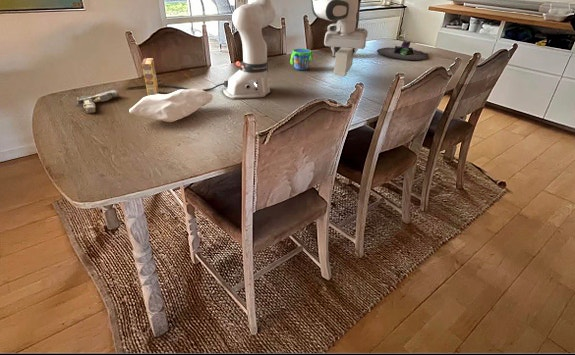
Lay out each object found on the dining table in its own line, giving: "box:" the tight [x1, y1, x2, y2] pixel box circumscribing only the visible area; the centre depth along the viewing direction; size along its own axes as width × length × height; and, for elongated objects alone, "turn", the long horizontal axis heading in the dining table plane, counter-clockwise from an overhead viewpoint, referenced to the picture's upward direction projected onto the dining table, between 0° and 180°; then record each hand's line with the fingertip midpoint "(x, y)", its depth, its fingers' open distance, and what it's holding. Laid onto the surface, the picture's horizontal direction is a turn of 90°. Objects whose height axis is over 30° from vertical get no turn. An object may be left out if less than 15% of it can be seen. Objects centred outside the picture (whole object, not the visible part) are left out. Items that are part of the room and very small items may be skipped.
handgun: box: [76, 89, 120, 114], centre depth 155 cm, size 3×18×15 cm
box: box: [333, 47, 354, 77], centre depth 190 cm, size 22×6×11 cm, turn 162°
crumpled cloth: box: [129, 88, 214, 123], centre depth 147 cm, size 24×35×9 cm
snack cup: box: [289, 48, 314, 71], centre depth 208 cm, size 16×10×10 cm
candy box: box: [141, 57, 160, 96], centre depth 163 cm, size 9×4×15 cm, turn 13°
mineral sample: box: [376, 40, 430, 61], centre depth 247 cm, size 35×35×9 cm
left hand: (343, 56), depth 182 cm, fingers open, 8 cm apart
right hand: (347, 54), depth 195 cm, fingers closed on box, 5 cm apart
